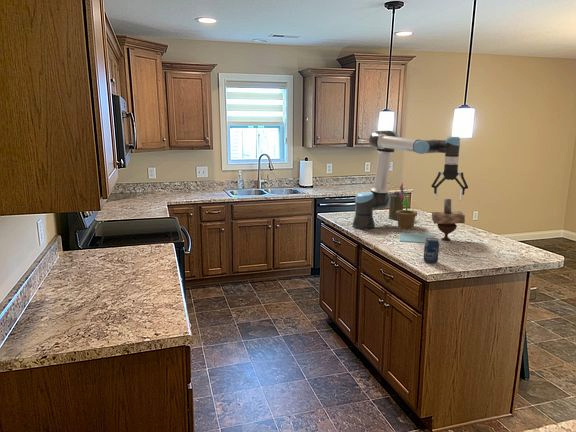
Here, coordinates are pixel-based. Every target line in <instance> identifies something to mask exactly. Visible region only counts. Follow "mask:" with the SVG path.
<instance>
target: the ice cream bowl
mask: <svg viewBox="0 0 576 432" xmlns="http://www.w3.org/2000/svg"><path fill="white" fill-rule="evenodd" d="M436 225H437V228H438V230H439V231H440V232H441V233H443V234H444V237H442V238H441V239H440V241H443V242H451V238H450V237H449V234H451V233H453V232H455V231H456V229H457V228H458V225H457V223H448V224H436Z"/></svg>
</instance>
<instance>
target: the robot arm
mask: <svg viewBox="0 0 576 432" xmlns="http://www.w3.org/2000/svg"><path fill="white" fill-rule="evenodd" d="M368 143H369V145H370V147H372V148H373V149H376V152H377V153H378V154H377V162H376V169H375V175H374V182H373V183H374V184H373V187H371V189H370V191H362V192H358V193H357V194H356V195H355V202H354V204H355V207H354V208H355V210H354V212H355V213H354V219H352V220H353V221H352V222H351V223H352V228H353V229H354V228H355V229H359V230H372V229H374V228H375V226H376V225H375V224H376V223H375V221H374V216H373V215H374V214H373V211H378V210H383V209H385V208H387V207H389V203H390V196H389V195H390V194H389V190H388V189H387V187H388V180H389V172H390V168H391V167H390V165H391V159H392V155H393V154H394V152H395V150H399V151H406V152H413V153H416V154H419V155H425V154H436V153H437V154H444V166H443V171H438V173H437V175H436V177H435V179H433V180H434V181H433V182H432V184H431V188H433V194H434V195H435V200H438V197H439V187H440V185H441V184H443V183H444V182H445V180H448V181H450V180H451V181H454V180H455V182H456V183H457V184H458V185H459V186H460V193H459V201H460V202H462V200H463V196H464V195H465V190H467V189H469V186H468V183H467V181H466V179H465V177H464V172H458V171H459V170H458V169H459V157H460V155H459V154H460V149H461V148H460V146H461V138H460V137H459V136H447V137H446V139H427V140H426V139H416V138H409V137H400V136H399V135H398V133H397V132H396V131H394V130H376V131H373V132H372V133H371V134H370V135H369V137H368ZM442 175H443V177H442V179H440V180H439V178H440V177H441V176H442ZM458 176H459V177H460V178H461V180H462V183H463V184H462V183H461V181H460V180H459V179H458ZM437 182H438V183H437ZM436 183H437V184H436Z"/></svg>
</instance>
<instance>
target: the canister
mask: <svg viewBox="0 0 576 432" xmlns="http://www.w3.org/2000/svg"><path fill="white" fill-rule="evenodd" d="M400 192H401V191H393V194H389V197H390V203H389V205H388V220H393V221H398V218H397V215H396V211H398V210H404V205H403V204H402V203H403V202H404V198H405V196H404V194H403V198H402V199H401V201H400Z"/></svg>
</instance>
